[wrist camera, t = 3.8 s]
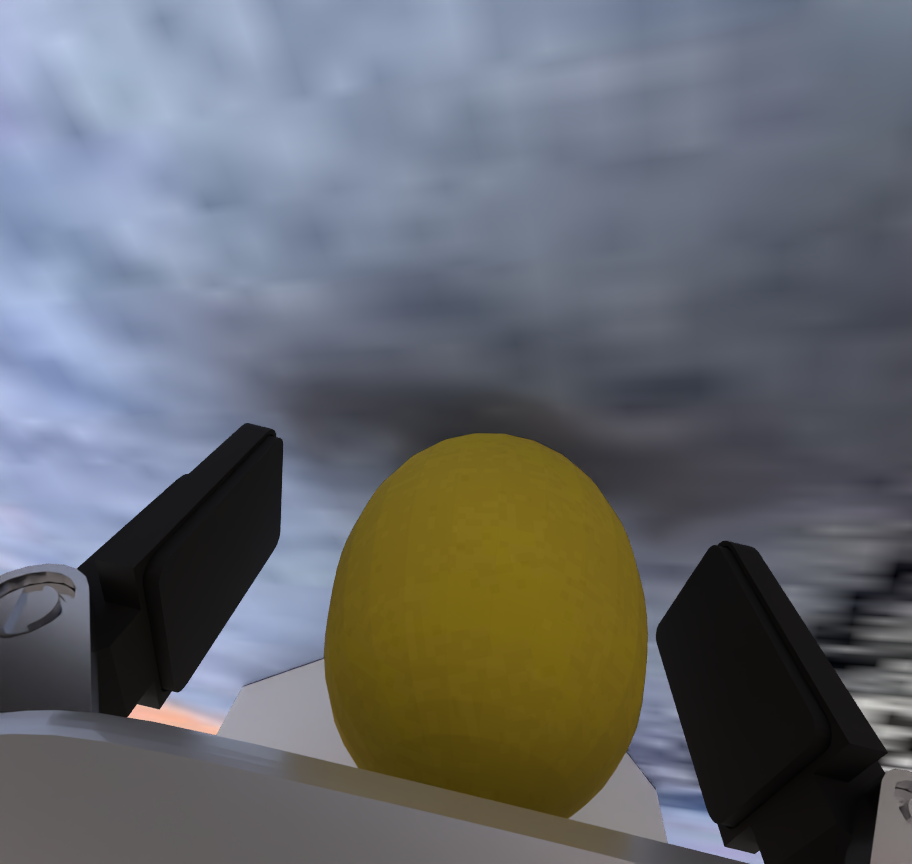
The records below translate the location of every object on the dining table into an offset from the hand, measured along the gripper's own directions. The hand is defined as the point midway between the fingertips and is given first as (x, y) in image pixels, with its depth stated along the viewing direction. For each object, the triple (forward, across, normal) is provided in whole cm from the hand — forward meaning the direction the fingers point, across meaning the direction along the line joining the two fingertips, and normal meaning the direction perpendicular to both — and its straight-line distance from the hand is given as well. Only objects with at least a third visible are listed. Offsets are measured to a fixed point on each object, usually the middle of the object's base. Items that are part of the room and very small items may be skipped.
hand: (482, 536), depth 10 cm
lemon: (+3, 0, 0) cm, 3 cm away
